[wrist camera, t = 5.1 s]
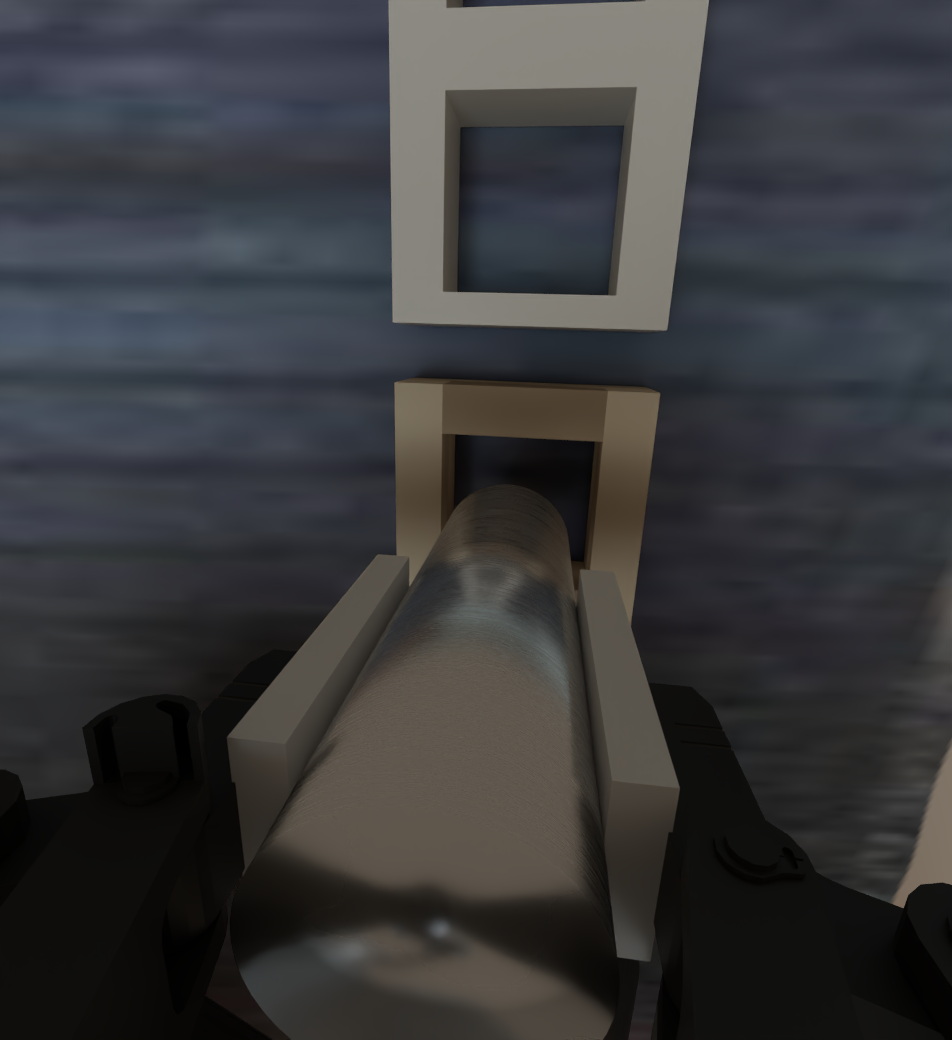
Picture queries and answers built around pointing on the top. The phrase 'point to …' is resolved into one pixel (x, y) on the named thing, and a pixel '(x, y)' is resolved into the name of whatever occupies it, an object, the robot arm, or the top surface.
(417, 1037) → the grey peg
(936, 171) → the top surface
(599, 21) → the rack
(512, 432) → the socket block
